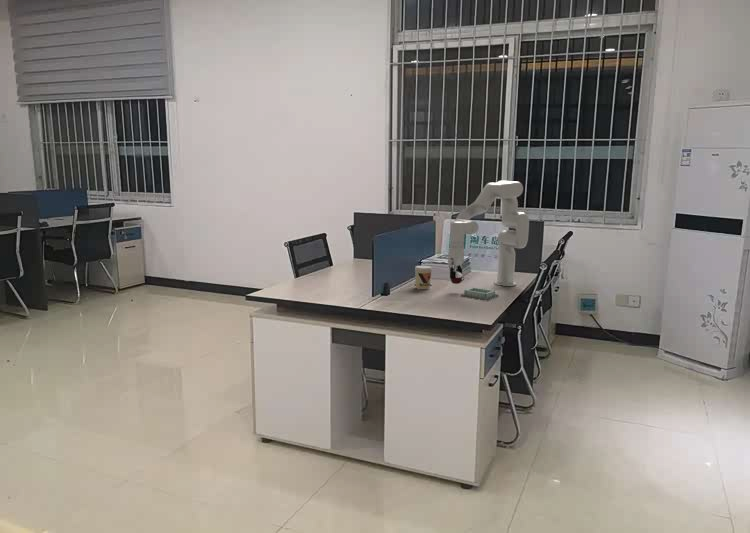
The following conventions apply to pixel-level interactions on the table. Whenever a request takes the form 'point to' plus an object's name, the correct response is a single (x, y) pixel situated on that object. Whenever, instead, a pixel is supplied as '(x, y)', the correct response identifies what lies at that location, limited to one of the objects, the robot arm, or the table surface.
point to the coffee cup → (423, 277)
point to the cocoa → (457, 278)
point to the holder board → (479, 293)
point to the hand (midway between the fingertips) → (455, 277)
